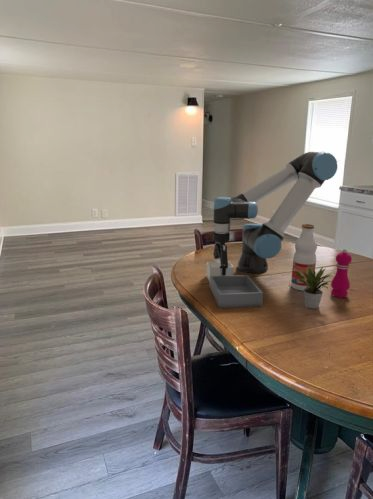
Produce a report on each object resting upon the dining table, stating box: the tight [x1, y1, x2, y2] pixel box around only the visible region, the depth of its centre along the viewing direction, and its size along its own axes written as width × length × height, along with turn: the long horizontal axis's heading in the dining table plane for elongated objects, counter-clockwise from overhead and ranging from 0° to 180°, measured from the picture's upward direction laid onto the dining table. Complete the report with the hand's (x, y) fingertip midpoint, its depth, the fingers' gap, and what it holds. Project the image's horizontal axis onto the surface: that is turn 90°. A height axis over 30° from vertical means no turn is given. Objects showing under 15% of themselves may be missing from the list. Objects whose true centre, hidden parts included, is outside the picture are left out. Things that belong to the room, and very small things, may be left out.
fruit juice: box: [290, 223, 318, 292], centre depth 162 cm, size 9×9×28 cm
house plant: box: [298, 266, 336, 309], centre depth 142 cm, size 14×14×16 cm
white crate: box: [206, 261, 235, 281], centre depth 174 cm, size 11×8×7 cm
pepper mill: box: [330, 248, 353, 298], centre depth 155 cm, size 7×7×20 cm
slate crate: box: [208, 274, 264, 309], centre depth 153 cm, size 17×21×6 cm
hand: (219, 276), depth 174 cm, fingers open, 13 cm apart
